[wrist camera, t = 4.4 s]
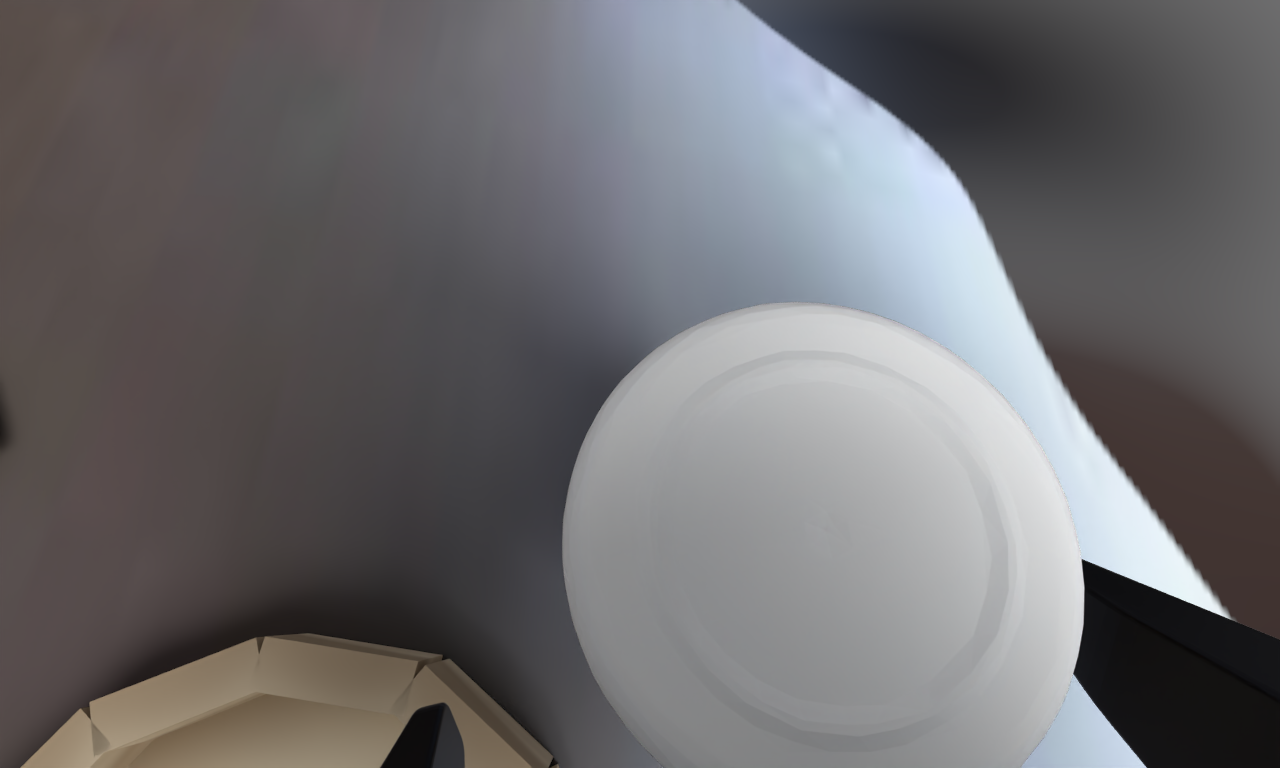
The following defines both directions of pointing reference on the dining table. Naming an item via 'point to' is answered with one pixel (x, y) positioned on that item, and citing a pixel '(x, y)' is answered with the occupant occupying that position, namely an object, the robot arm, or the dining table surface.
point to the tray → (287, 711)
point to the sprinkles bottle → (821, 551)
